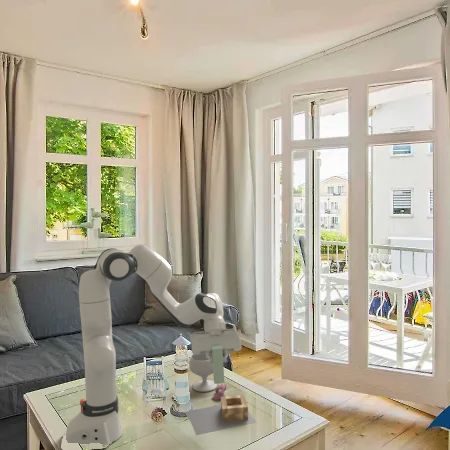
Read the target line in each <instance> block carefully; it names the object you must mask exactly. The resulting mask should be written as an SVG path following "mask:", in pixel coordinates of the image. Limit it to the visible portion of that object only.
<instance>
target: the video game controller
mask: <svg viewBox="0 0 450 450" xmlns="http://www.w3.org/2000/svg"><path fill="white" fill-rule="evenodd" d="M227 387H228V385H227V384H226V383H220V385H219V386H217V388H216V389H214V390H215V391H214V393H215V394H214V395H213V396H212V397H211V400H212V401H221V397H225V391H227V390H226V389H227Z"/></svg>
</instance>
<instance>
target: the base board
mask: <svg viewBox="0 0 450 450" xmlns="http://www.w3.org/2000/svg"><path fill="white" fill-rule="evenodd" d="M189 411H190V412H188V413H187V412H186V414H187V417H188V419H189V422H190V424H191V426H192V427H193V431H194V432H195V434H196V436H197V435H202V434H207V433H212V432H217V431H221V430H226V429H231V428H234V427H235V428H236V427H240V426H244V425H248V424H254V423H257V421H256V420H255V418H254V417H253V415H252V414H251V413H250V411H248V419H245V420H233V421H223V418H222V411H221V404H219V405H212V406H207V407H201V408H198V409H197V408H196V409H191V410H189Z"/></svg>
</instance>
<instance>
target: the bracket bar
mask: <svg viewBox="0 0 450 450" xmlns="http://www.w3.org/2000/svg"><path fill="white" fill-rule="evenodd" d="M223 354H224V352H223V351H222V345H212V358H213V375H212V376H213V381H214V384H217V385H218V384H225V371H224V370H225V369H224V368H225V367H224V362H223V357H224V356H223Z"/></svg>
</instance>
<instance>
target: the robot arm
mask: <svg viewBox="0 0 450 450" xmlns="http://www.w3.org/2000/svg"><path fill="white" fill-rule="evenodd" d="M135 273H136V274H137V275H138V276H140V277H141V279H143V280H145V282H146V283H147V285H148V287H149V288H148V289H149V292H150V293H151V295H152V296H153V298H154V299H155V300H156V302H158V303H159V304H160V306H161V307H163V309H164V310H165V311H166V312H167V313H168V314H169V316H170V317H171V318H172V319H173V321H174V323H175V324H176V325H177V326H178V327H180V328H183V329H187V328H190V327H191V326H192V325H194V324H195V323H197V322H198V321H200V320H203V321H204V322H203V329H204V330H201V331H194V332H192V333H191V334H190V335H189V337H190V338H189V339H190V342H191V354H192V355H193V354H194V355H198V354H206V357H207V358H208V360H209V364H213V358H210V356H209V353H212V345H222V351H223V353H224V356H223V363H227V361H228V359H227V358H228V355H229V352H238V351H239V352H240V351H241V349H242V347H243V346H242V341H241V337H240V333H239V332H238V331H237V326H236V325H235V324H234V323H228V322H225V319H224V305H223V301H222V298H221V297H220V296H219V295H218V294H217V293H213V292H209V293H206V294H205V293H202V292H199V293H197V294H195V295H194V296H192V297H190V298H188V299H187V300H185V301H183V302H178V301H177V300H176V299H175V298H174V297H173V296H172V295H171V293H170V292H169V291H168V286H169V284H170V282H171V280H172V277H173V269H172V266H171V264H170V263H169V262H168V261H167V260H166V259H165V258H164V257H162V256H161V255H160V254H159V253H157V252H156V251H155V250H154V249H151V248H150V247H148V246H147V245H145V244H137V245H136V246H134V247H133V248H131V250H130V251H128V252H125V251H123V250H120V249H117V248H113V247H112V248H107V249H105V250H103V251H102V252H101V254H99V256H98V258H97V261H96V263H95V265H94V267H93V269H89V270H87V271H85V272H83V273H82V274H81V275H80V278H79V285H78V300H79V301H78V303H79V304H78V305H79V314H80V326H81V335H82V336H81V337H82V348H83V349H82V351H83V361H84V382H85V383H84V384H85V398H81V399H80V400H79V405H80V411H79V412H78V414H76V415H75V416H74V417H73V418H71V420H70V421H69V423H68V425H67V426H66V431H65V432H66V440H67V442H68V443H78V444H90V443H100V444H103V445H102V446H103V447H105V446H107V445H109V444H110V443H111V442H113V441H115V440H116V439H118V438H119V437H120V436H121V437H122V435H123V433H122V432H124V431H123V428H122V424H121V420H120V416H119V410H120V409H119V407H120V406H119V397H118V395H117V381H116V379H117V377H116V375H117V374H116V372H117V371H116V369H117V368H116V367H117V359H116V358H117V356H116V352H117V351H116V348H115V344H114V340H113V328H112V327H113V325H112V324H113V323H112V319H113V317H112V305H111V295H110V287H111V283H112V281H113V282H121V281H124V280H126V279H128V278H129V277H130V276H131V275H133V274H135ZM121 437H120V438H121ZM120 438H119V439H120ZM119 439H118V440H119ZM116 441H117V440H116ZM116 441H115V442H116ZM113 443H114V442H113ZM111 444H112V443H111ZM111 444H110V445H111ZM110 445H109V446H110Z"/></svg>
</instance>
